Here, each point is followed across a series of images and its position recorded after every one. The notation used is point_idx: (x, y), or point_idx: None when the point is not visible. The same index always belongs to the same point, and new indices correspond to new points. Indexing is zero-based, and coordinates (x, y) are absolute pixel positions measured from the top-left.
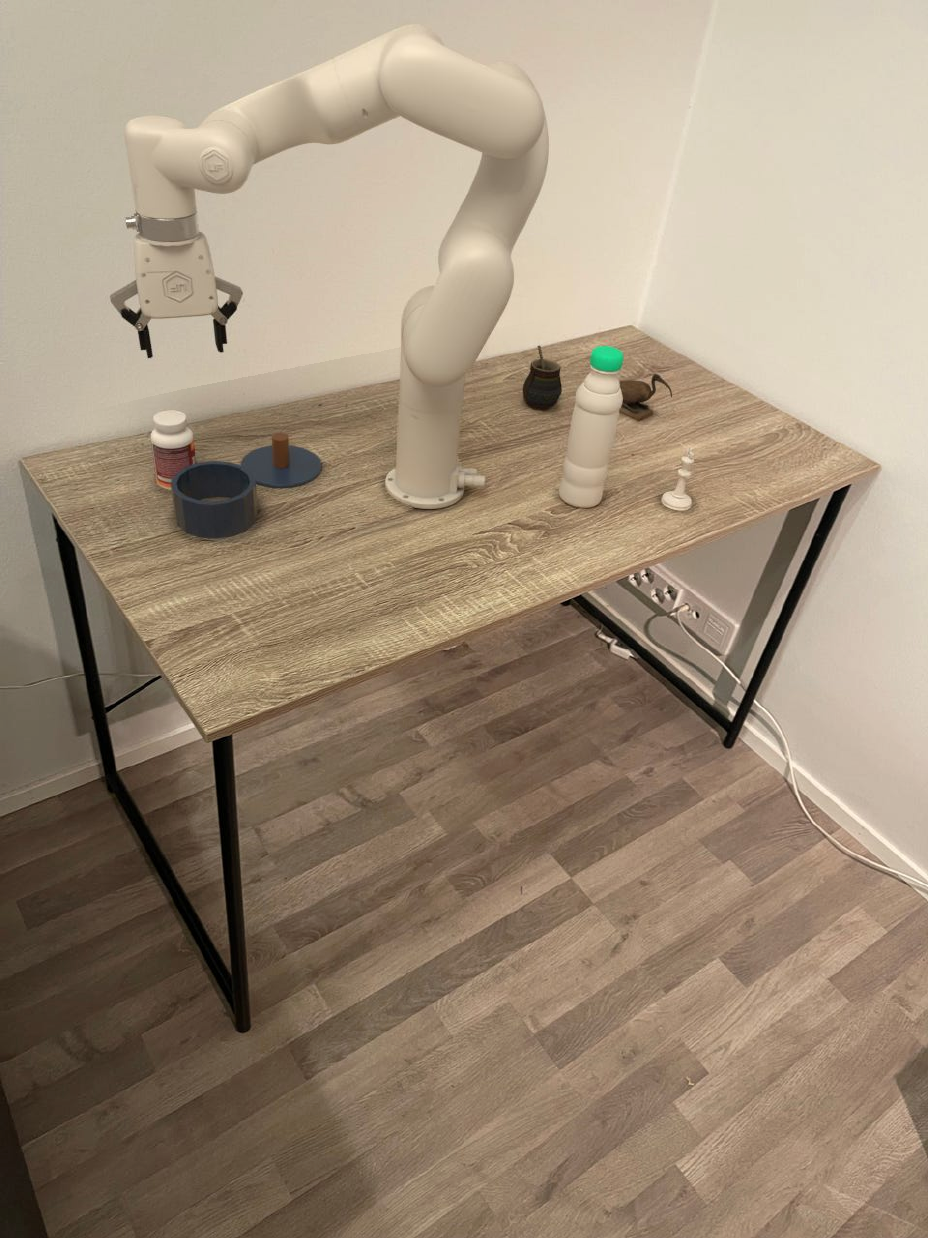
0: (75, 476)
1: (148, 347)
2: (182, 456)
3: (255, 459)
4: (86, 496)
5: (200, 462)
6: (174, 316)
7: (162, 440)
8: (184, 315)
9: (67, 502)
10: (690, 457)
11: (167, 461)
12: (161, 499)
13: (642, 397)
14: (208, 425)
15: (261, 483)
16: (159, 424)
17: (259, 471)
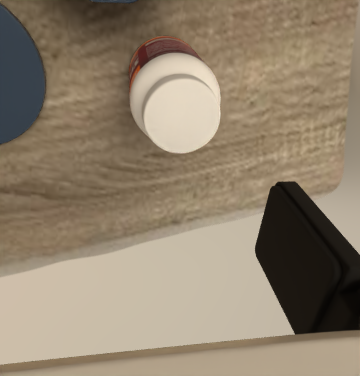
0: (304, 128)
1: (307, 207)
2: (160, 49)
3: (14, 103)
4: (309, 65)
5: (126, 2)
6: (223, 347)
7: (203, 70)
8: (118, 361)
9: (339, 54)
10: None
11: (191, 51)
12: (201, 20)
13: None
14: (93, 230)
15: (1, 5)
16: (211, 91)
17: (6, 55)
